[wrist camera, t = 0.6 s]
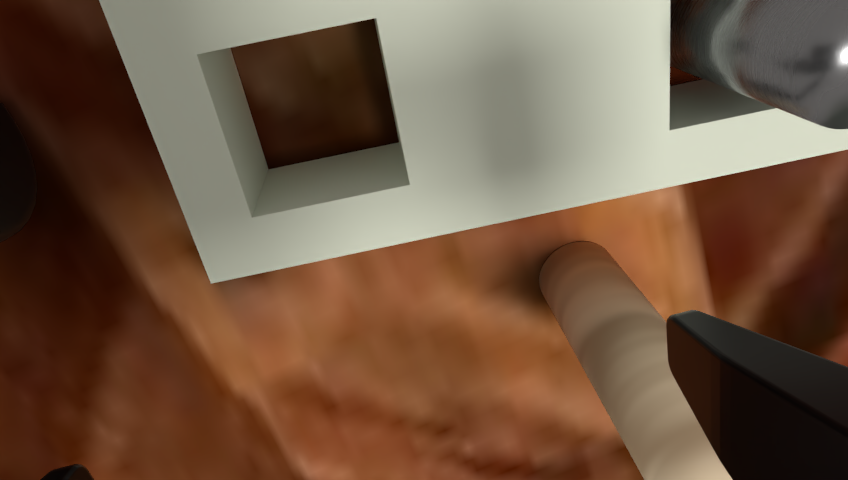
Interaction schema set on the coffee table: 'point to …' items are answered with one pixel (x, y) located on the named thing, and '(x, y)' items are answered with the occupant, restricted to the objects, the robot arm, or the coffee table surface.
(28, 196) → the end cap
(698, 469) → the beech peg
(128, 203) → the coffee table surface
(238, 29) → the hole block
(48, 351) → the coffee table surface
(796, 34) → the dark metal peg
